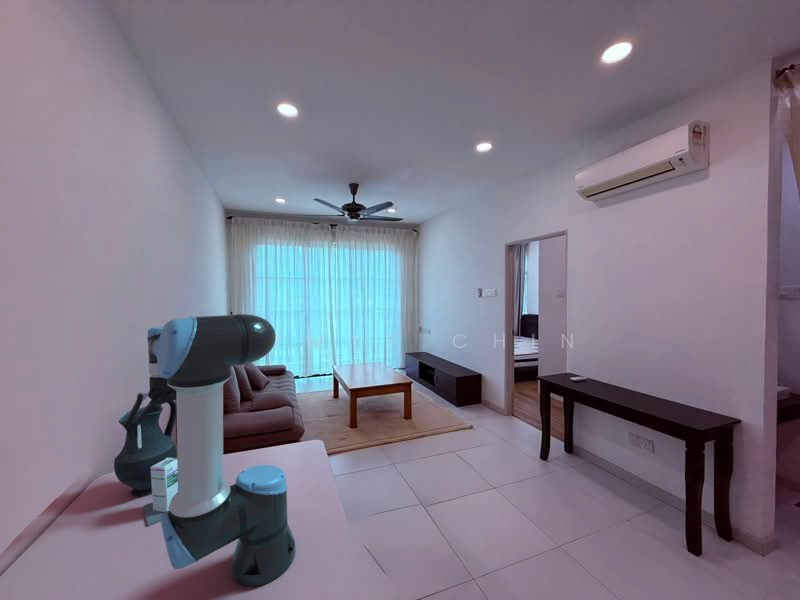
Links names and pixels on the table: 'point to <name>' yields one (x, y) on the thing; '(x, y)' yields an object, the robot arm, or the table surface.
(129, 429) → the pitcher
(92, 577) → the table surface
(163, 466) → the syrup box
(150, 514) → the mat
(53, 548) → the table surface
